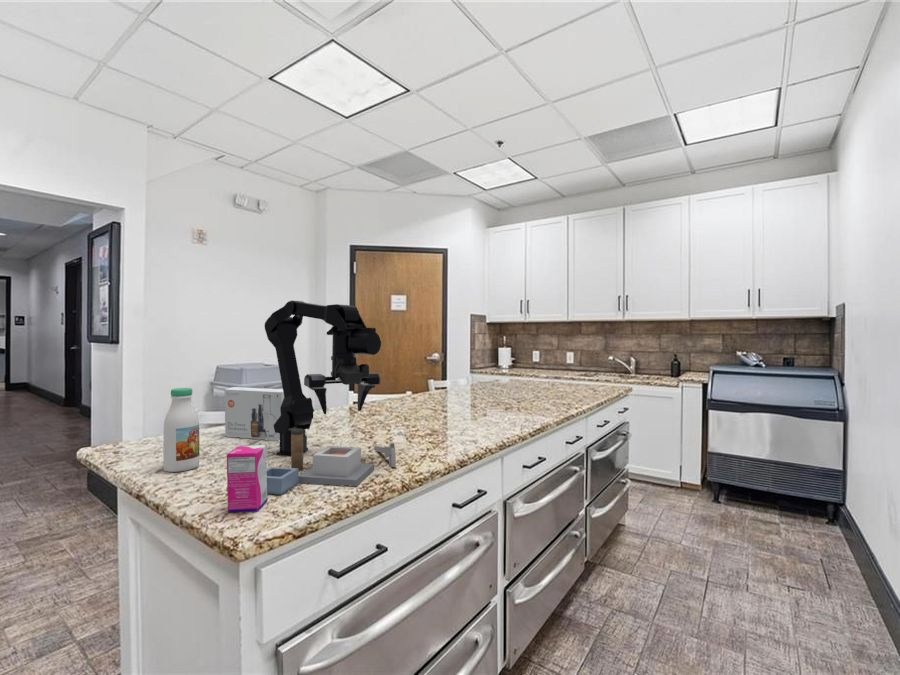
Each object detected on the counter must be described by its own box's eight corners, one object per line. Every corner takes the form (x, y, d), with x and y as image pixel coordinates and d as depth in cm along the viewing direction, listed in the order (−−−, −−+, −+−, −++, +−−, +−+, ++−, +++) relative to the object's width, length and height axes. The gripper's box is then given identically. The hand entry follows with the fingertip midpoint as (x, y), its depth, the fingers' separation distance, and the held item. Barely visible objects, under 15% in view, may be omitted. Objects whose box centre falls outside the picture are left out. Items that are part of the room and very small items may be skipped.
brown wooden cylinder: (289, 470, 108) (289, 430, 108) (294, 467, 111) (294, 428, 110) (299, 471, 107) (299, 431, 107) (305, 468, 110) (305, 428, 110)
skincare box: (223, 437, 141) (223, 388, 141) (235, 433, 146) (235, 386, 146) (281, 441, 136) (281, 391, 136) (291, 437, 141) (291, 388, 141)
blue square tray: (251, 493, 93) (251, 476, 93) (270, 481, 100) (270, 466, 100) (281, 495, 92) (281, 478, 92) (298, 483, 99) (298, 468, 99)
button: (326, 464, 102) (326, 456, 102) (333, 459, 106) (333, 452, 106) (342, 465, 102) (342, 457, 102) (348, 460, 106) (348, 453, 106)
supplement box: (238, 501, 89) (238, 444, 88) (268, 500, 89) (268, 444, 89) (225, 513, 83) (225, 452, 83) (258, 512, 83) (258, 452, 83)
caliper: (395, 469, 111) (396, 444, 111) (391, 469, 110) (391, 444, 110) (376, 448, 130) (376, 427, 129) (373, 449, 129) (373, 428, 129)
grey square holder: (297, 482, 99) (297, 456, 99) (321, 466, 111) (321, 443, 111) (356, 486, 97) (356, 460, 97) (374, 469, 109) (374, 446, 109)
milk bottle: (161, 474, 104) (161, 391, 104) (165, 465, 111) (165, 387, 111) (198, 470, 108) (198, 389, 108) (200, 461, 115) (200, 386, 114)
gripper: (315, 355, 102) (314, 421, 102) (389, 354, 112) (387, 415, 112) (304, 352, 111) (303, 413, 112) (372, 351, 121) (371, 407, 122)
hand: (342, 412), depth 114 cm, fingers open, 9 cm apart
